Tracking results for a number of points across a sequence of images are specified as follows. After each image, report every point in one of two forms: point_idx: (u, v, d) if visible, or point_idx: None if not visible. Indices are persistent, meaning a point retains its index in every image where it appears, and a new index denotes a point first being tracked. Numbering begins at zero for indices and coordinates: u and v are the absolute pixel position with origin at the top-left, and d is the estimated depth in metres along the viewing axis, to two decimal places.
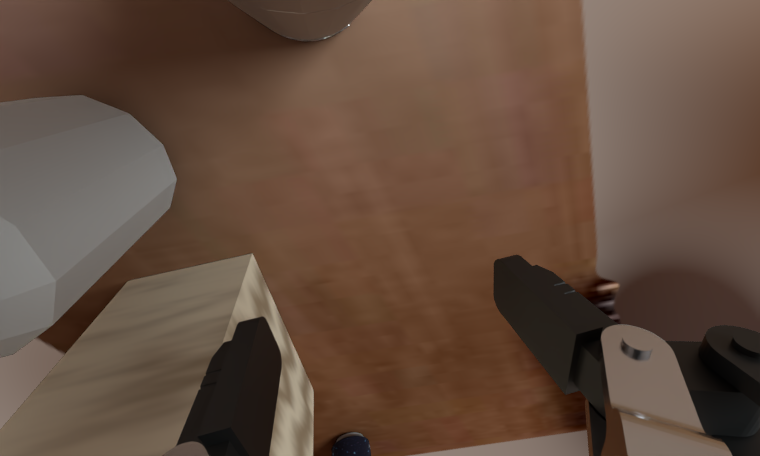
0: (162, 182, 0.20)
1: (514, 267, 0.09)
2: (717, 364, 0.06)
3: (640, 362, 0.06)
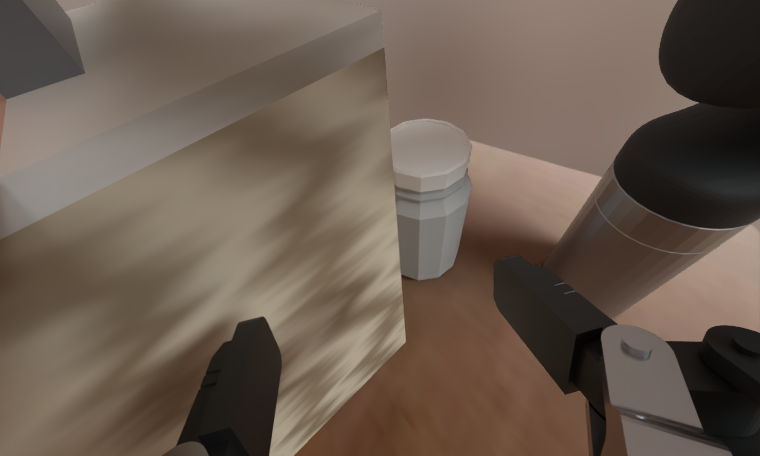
0: (442, 267, 0.36)
1: (514, 267, 0.09)
2: (717, 364, 0.06)
3: (640, 362, 0.06)
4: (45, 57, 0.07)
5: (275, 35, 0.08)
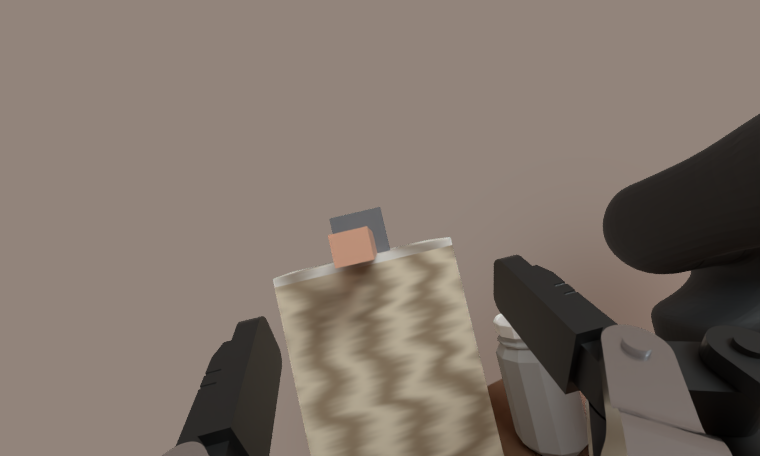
0: (561, 438, 0.39)
1: (514, 267, 0.09)
2: (717, 364, 0.06)
3: (640, 362, 0.06)
4: (385, 247, 0.40)
5: (426, 242, 0.38)
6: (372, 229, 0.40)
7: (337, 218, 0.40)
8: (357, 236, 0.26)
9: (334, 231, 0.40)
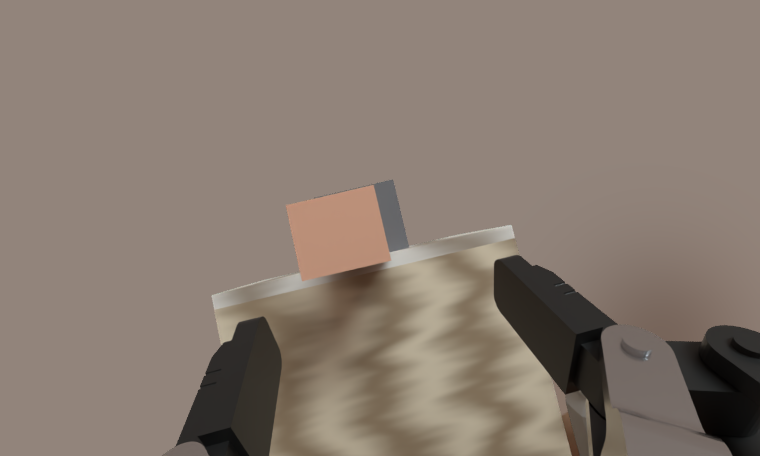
0: None
1: (514, 267, 0.09)
2: (717, 364, 0.06)
3: (640, 362, 0.06)
4: (402, 242, 0.25)
5: (469, 234, 0.23)
6: (381, 214, 0.26)
7: None
8: (352, 207, 0.12)
9: None
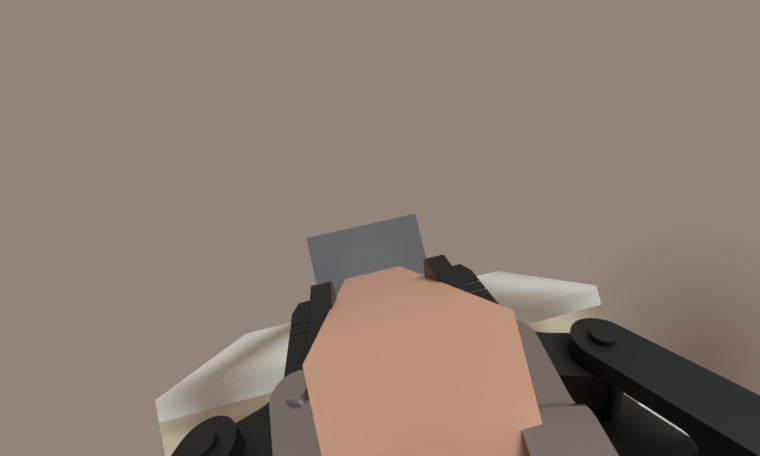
0: None
1: (435, 266, 0.10)
2: (585, 360, 0.06)
3: None
4: None
5: (531, 295, 0.16)
6: (399, 261, 0.19)
7: (324, 237, 0.19)
8: (466, 367, 0.05)
9: (317, 266, 0.19)
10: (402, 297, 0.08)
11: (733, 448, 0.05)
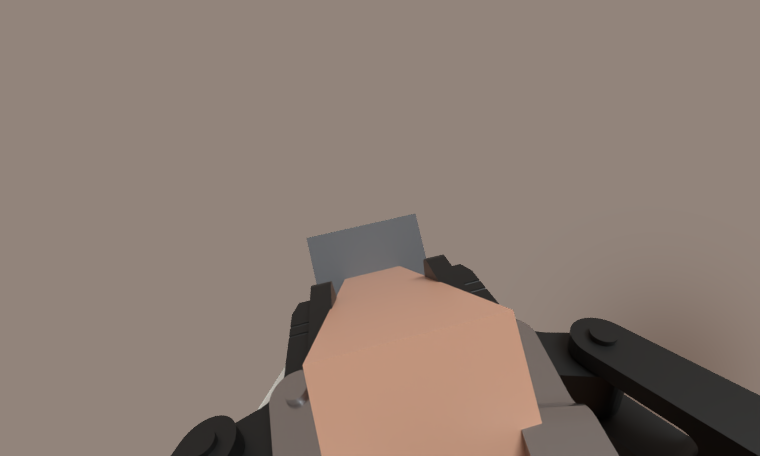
0: None
1: (435, 266, 0.10)
2: (585, 360, 0.06)
3: None
4: None
5: None
6: (399, 261, 0.19)
7: (324, 237, 0.19)
8: (465, 367, 0.05)
9: (317, 266, 0.19)
10: (402, 297, 0.08)
11: (733, 448, 0.05)
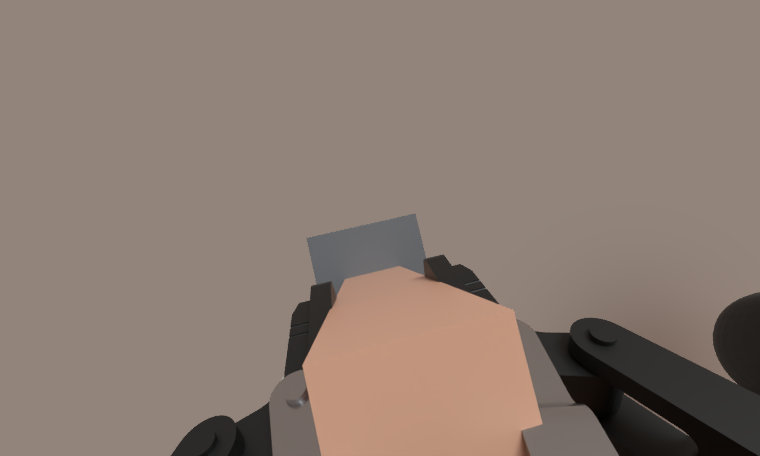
0: None
1: (435, 266, 0.10)
2: (585, 360, 0.06)
3: None
4: None
5: None
6: (399, 261, 0.19)
7: (324, 237, 0.19)
8: (466, 367, 0.05)
9: (317, 266, 0.19)
10: (402, 297, 0.08)
11: (733, 448, 0.05)
